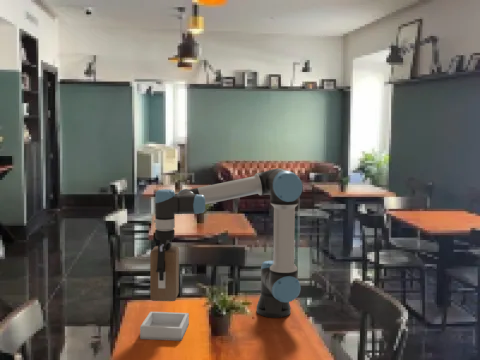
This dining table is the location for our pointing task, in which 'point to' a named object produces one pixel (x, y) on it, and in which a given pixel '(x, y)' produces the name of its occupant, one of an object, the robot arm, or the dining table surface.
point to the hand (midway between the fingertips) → (164, 283)
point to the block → (171, 275)
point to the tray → (164, 326)
